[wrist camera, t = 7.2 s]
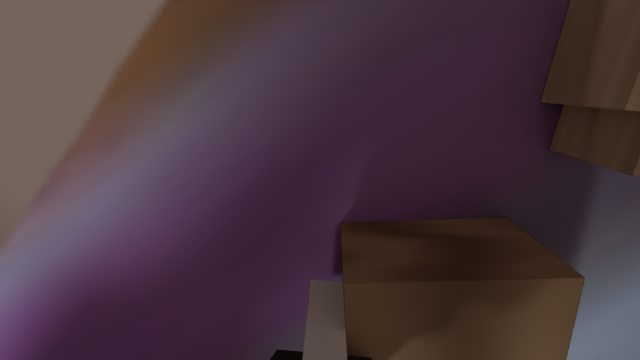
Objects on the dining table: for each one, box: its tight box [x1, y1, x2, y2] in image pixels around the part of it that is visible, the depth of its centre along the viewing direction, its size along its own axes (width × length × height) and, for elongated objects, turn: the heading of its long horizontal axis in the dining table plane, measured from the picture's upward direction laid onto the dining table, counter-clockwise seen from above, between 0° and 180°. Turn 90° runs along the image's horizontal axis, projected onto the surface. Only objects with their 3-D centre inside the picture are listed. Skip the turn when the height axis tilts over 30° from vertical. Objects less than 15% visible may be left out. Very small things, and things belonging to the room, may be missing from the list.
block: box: [341, 217, 585, 360], centre depth 14 cm, size 8×8×5 cm
